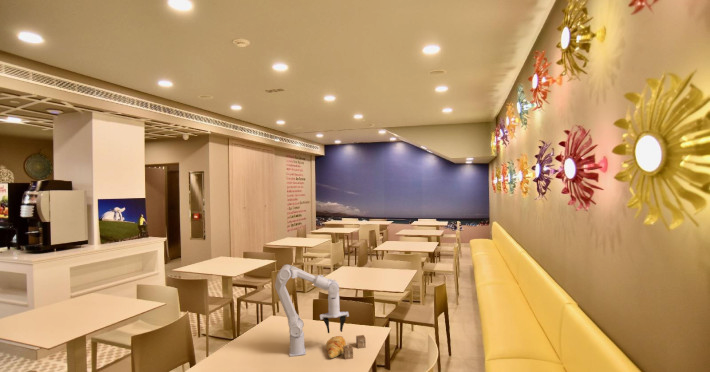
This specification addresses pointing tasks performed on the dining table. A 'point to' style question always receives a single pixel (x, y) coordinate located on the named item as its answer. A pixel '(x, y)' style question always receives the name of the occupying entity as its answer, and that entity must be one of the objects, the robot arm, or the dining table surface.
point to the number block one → (348, 352)
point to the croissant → (335, 346)
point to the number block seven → (360, 341)
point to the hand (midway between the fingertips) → (334, 331)
